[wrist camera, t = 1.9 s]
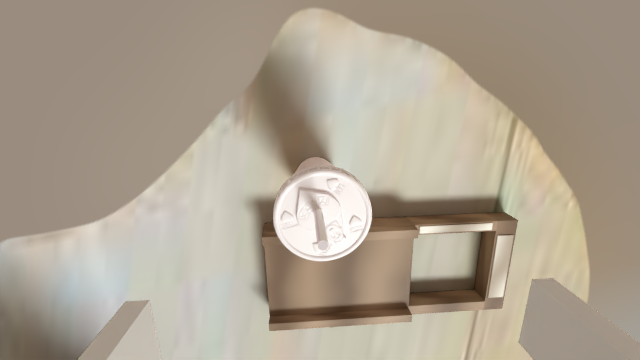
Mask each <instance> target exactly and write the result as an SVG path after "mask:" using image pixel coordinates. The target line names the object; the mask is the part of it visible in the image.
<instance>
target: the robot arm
mask: <svg viewBox="0 0 640 360" xmlns="http://www.w3.org/2000/svg"><path fill="white" fill-rule="evenodd" d="M519 343H520V344H521V346H522V347H523V348H524V349H525V350H526V351H527V352H528V354H529V355H530V356H531V357H532V358H533V359H534V360H640V343H639V342H638V341H636V340H635V339H633V338H632V337H631V336H630V335H628V334H627V333H626V332H624V331H623V330H621V329H620V328H619V327H617V326H616V325H615V324H613V323H612V322H611V321H609V320H608V319H607V318H605V317H604V316H603V315H601V314H600V313H599V312H597V311H596V310H595V309H593V308H592V307H591V306H589V305H588V304H587V303H585V302H584V301H583V300H581V299H580V298H579V297H577V296H576V295H575V294H573V293H572V292H570V291H569V290H568V289H566V288H565V287H564V286H562V285H561V284H560V283H558V282H557V281H556V280H554V279H553V278H549V279H532V282H531V287H530V291H529V296H528V301H527V305H526V310H525V315H524V320H523V324H522V329H521V334H520V339H519ZM77 360H162V357H161V352H160V347H159V343H158V338H157V333H156V329H155V324H154V319H153V315H152V310H151V305H150V300H146V301H127V302H125V303H124V304H123V305H122V306H121V308H120V309H119V310H118V311H117V312H116V314H115V315H114V316H113V317H112V318H111V320H110V321H109V322H108V323H107V324H106V326H105V327H104V328H103V329H102V330H101V332H100V333H99V334H98V335H97V336H96V338H95V339H94V340H93V341H92V343H91V344H90V345H89V346H88V347H87V349H86V350H85V351H84V352H83V353H82V355H81V356H80V357H79V358H78V359H77Z"/></svg>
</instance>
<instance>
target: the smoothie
mask: <svg viewBox="0 0 640 360" xmlns="http://www.w3.org/2000/svg"><path fill="white" fill-rule="evenodd" d="M273 210H274V211H273V222H274V227H275V231H276V233H277V235H278V237H279V239H280V241H281V242H282V243H283V244H284V246H285V247H286V248H287V249H289V250H290V251H291V252H292V253H294V254H296V255H297V256H299V257H302V258H305V259H308V260H313V261H330V260H335V259H338V258H341V257H343V256H345V255H347V254H349V253H350V252H352V251H353V250H354V249H356V248H357V247H358V246H359V245H360V244H361V243H362V241H363V240H364V238H365V237H366V235H367V233H368V231H369V228H370V225H371V221H372V207H371V203H370V200H369V197H368V194H367V192H366V190H365V189H364V187H363V185H362V184H361V183H360V181H359V180H358V179H357V178H356V177H355V176H354V175H352V174H350V173H349V172H347V171H345V170H343V169H341V168H337V167H335V166H333V165H332V164H331V163H330V162H328V161H327V160H325V159H323V158H320V157H312V158H308V159H306V160H305V161H303V162H302V163H301V164H300V165H299V167H298V168H297V170H296V172H295V173H294V175H292V176H291V177H290V178H289V179H288V180H287V181H286V182H285V183H284V184H283V185H282V187H281V188H280V190H279V192H278V193H277V195H276V199H275V203H274V207H273Z"/></svg>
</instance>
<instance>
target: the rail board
mask: <svg viewBox="0 0 640 360" xmlns="http://www.w3.org/2000/svg"><path fill="white" fill-rule="evenodd" d="M517 222H518V220H517V219H515V218H513V217H512V216H510V215H508V214H507V213H505V212H495V213H474V214H452V215H430V216H409V217H387V218H372V221H371V225H370V228H369V231H368V233H367V235H366V237H365V238H364V240H363V241H362V243H361V244H360V245H359V246H358V247H357V248H356V249H354V250H353V251H352V252H350V253H349V254H347V255H345V256H343V257H341V258H338V259H335V260H330V261H313V260H308V259H305V258H302V257H299V256H297V255H296V254H294V253H292V252H291V251H290V250H289V249H287V248H286V247H285V246H284V244H283V243H282V242H281V241H280V239H279V237H278V235H277V233H276V231H275V227H274V223H265V226H264V230H263V234H262V246H264V251H265V263H266V275H267V287H268V299H269V311H270V320H269V331H276V330H291V329H306V328H322V327H337V326H352V325H367V324H383V323H398V322H411V320H412V314H423V313H439V312H454V311H470V310H485V309H501V308H502V306H503V301H504V295H505V289H506V284H507V278H508V273H509V267H510V261H511V256H512V250H513V245H514V239H515V233H516V228H517ZM462 232H482V238H481V245H480V252H479V259H478V266H477V273H476V279H475V286H474V289H471V290H454V291H437V292H421V293H410V280H411V266H412V253H413V239H414V238H418V235H421V234H441V233H462Z"/></svg>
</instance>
